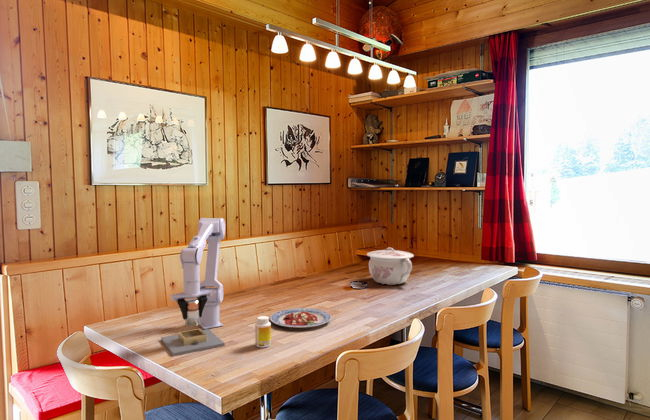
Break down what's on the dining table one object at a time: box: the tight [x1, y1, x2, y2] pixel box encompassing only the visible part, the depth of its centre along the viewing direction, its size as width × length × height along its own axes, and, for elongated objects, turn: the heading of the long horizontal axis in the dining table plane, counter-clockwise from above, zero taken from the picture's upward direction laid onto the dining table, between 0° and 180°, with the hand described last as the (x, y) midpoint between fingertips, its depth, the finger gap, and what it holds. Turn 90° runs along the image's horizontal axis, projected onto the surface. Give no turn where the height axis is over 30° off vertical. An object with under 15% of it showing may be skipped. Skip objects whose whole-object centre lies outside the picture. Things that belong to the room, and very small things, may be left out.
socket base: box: [160, 328, 226, 357], centre depth 164 cm, size 18×18×1 cm
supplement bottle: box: [254, 315, 272, 349], centre depth 161 cm, size 6×6×10 cm
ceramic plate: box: [269, 307, 332, 329], centre depth 189 cm, size 26×26×3 cm
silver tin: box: [184, 298, 200, 328], centre depth 163 cm, size 5×5×9 cm
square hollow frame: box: [177, 328, 207, 346], centre depth 164 cm, size 11×8×2 cm
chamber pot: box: [366, 247, 415, 286], centre depth 260 cm, size 28×28×21 cm
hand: (192, 317), depth 163 cm, fingers closed on silver tin, 5 cm apart
